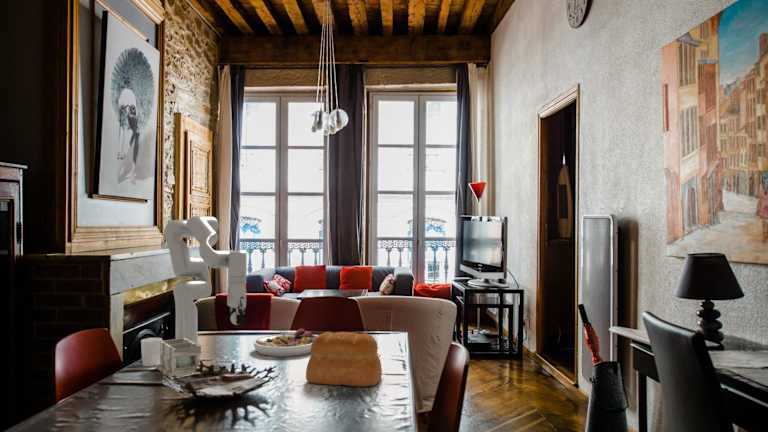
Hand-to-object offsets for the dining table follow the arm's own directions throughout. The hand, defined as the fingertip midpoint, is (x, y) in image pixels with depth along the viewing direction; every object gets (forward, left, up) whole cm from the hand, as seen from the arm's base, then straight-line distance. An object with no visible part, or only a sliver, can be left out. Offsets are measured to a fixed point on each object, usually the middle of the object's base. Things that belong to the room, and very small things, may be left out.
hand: (237, 322), depth 217 cm
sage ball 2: (0, 0, +2) cm, 2 cm away
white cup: (-14, -30, -16) cm, 37 cm away
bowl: (-1, +25, -16) cm, 29 cm away
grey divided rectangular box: (+4, -24, -15) cm, 29 cm away
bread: (+55, +18, -16) cm, 60 cm away
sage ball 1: (+8, -24, -11) cm, 28 cm away
